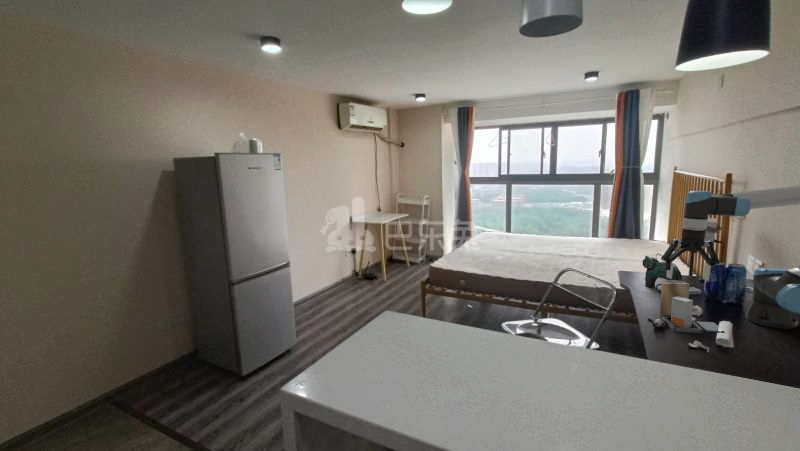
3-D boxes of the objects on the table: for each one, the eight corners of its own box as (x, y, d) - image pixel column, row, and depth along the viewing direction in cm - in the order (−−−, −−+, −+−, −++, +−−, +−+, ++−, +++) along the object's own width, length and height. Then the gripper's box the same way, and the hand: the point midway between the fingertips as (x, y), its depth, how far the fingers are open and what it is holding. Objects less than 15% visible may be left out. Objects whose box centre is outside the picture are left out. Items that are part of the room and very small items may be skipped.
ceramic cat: (640, 285, 203) (641, 252, 201) (649, 284, 205) (650, 250, 203) (676, 295, 185) (678, 258, 182) (685, 293, 186) (687, 257, 184)
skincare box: (670, 323, 153) (671, 297, 151) (677, 322, 154) (678, 295, 153) (685, 329, 147) (686, 301, 146) (692, 327, 148) (693, 300, 147)
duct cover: (687, 315, 156) (686, 314, 157) (689, 284, 153) (688, 283, 154) (660, 314, 160) (659, 313, 160) (662, 283, 157) (661, 282, 157)
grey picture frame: (687, 319, 157) (687, 315, 156) (703, 333, 143) (703, 329, 142) (660, 317, 160) (660, 314, 160) (673, 331, 146) (673, 328, 146)
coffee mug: (688, 301, 175) (689, 282, 174) (682, 306, 171) (683, 286, 169) (661, 296, 185) (662, 278, 184) (654, 300, 180) (655, 281, 179)
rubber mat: (713, 323, 151) (713, 322, 151) (724, 332, 142) (724, 331, 142) (696, 322, 153) (696, 321, 153) (706, 331, 144) (706, 330, 144)
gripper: (722, 228, 145) (715, 277, 148) (655, 226, 150) (649, 274, 153) (736, 231, 138) (727, 283, 141) (664, 229, 142) (658, 279, 146)
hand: (687, 278), depth 147 cm, fingers open, 13 cm apart
